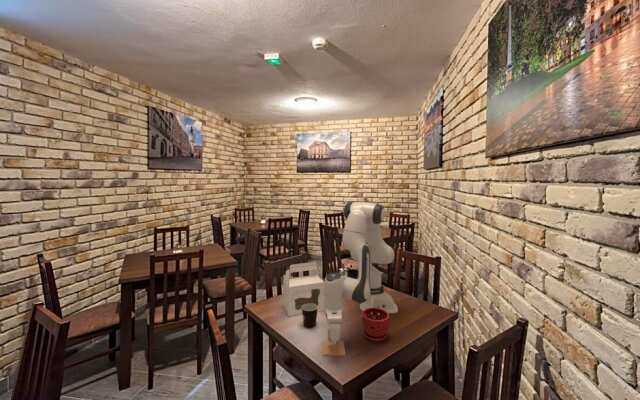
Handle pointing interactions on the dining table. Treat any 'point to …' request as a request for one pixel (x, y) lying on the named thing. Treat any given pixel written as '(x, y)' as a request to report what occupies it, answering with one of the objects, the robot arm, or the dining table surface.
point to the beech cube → (331, 340)
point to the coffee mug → (309, 315)
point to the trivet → (333, 349)
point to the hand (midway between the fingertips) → (333, 338)
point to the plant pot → (375, 324)
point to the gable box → (303, 288)
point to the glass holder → (352, 273)
